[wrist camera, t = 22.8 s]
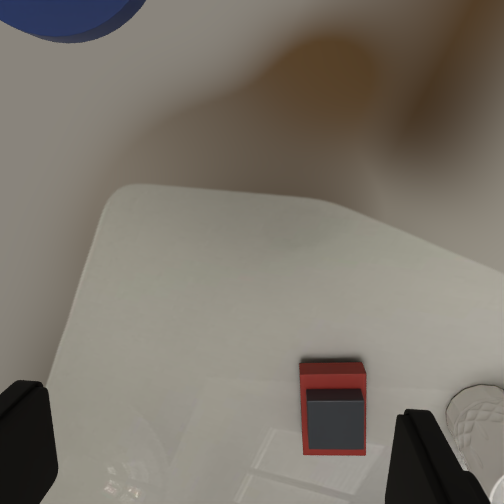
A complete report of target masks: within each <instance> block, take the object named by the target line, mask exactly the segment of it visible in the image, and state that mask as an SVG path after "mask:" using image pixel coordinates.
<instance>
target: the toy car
mask: <svg viewBox="0 0 504 504" xmlns="http://www.w3.org/2000/svg"><path fill="white" fill-rule="evenodd" d="M299 372H300V393H301V416H302V439H303V455H356V456H365V455H366V371H365V369H364V366H363V363H362V362H343V363H299Z"/></svg>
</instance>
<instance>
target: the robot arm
mask: <svg viewBox="0 0 504 504" xmlns="http://www.w3.org/2000/svg"><path fill="white" fill-rule="evenodd" d="M57 474H58V461H57V453H56V446H55V438H54V431H53V424H52V416H51V409H50V401H49V394H48V390H47V388H44V387H43V384H42V383H41V382H38V381H25V380H18V381H16V382H14V383H13V384H12V385H10V386H9V387H8V388H7V389H6V390H5V391H4V392H2V393H1V394H0V504H40V502H41V501H42V499H43V498H44V496H45V495H46V493H47V492H48V490H49V489H50V488H51V486H52V485H53V483H54V481H55V479H56V477H57ZM385 504H491V502H490V500H489V499H488V497H487V495H486V493H485V492H484V490H483V488H482V486H481V485H480V483H479V481H478V480H477V478H476V477H475V475H474V474H473V473H471V472H470V471H463V469H462V468H461V466H460V464H459V462H458V460H457V458H456V456H455V455H454V453H453V451H452V449H451V447H450V445H449V444H448V442H447V440H446V438H445V436H444V434H443V433H442V431H441V429H440V427H439V425H438V423H437V421H436V420H435V418H434V416H433V414H432V413H431V411H429V410H415V409H406V410H405V412H404V415H402V414H399V415H398V416H397V419H396V426H395V433H394V439H393V446H392V453H391V460H390V467H389V473H388V480H387V487H386V494H385Z"/></svg>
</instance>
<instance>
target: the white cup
mask: <svg viewBox="0 0 504 504" xmlns="http://www.w3.org/2000/svg"><path fill="white" fill-rule="evenodd" d="M446 417H447V426H448V428H449V430H450V431H451V433H452V435H453V437H454V439H455V441H456V444H457V447H458V449H459V452H460V454H461V456H462V458H463V460H464V462H465V465H466V467H467V469H468V471H470V472H471V473H473V474H474V475H475V477H476V478H477V480H478V481H479V483H480V485H481V486H482V488H483V490H484V492H485V493H486V495H487V497H488V499H489V500H490V502H491V504H504V390H502V389H500V388H498V387H497V386H488V385H477V386H474V387H471V388H467V389H464V390H463V391H462V392H460V393H459V394H458V395H456V396H455V397H454V398H453V399H452V400H451V402H450V404H449V406H448V409H447V411H446Z"/></svg>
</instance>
